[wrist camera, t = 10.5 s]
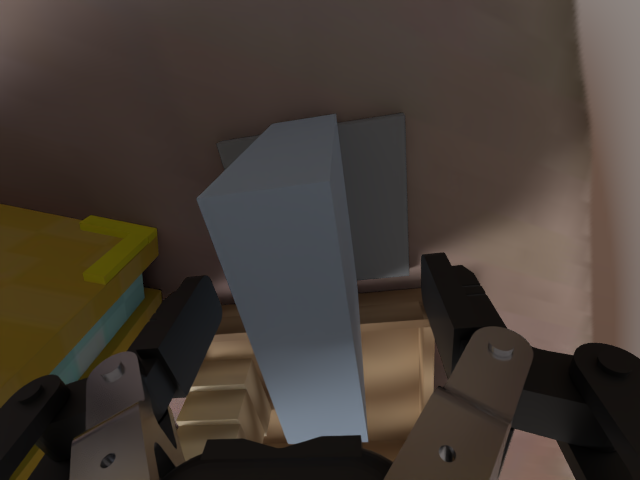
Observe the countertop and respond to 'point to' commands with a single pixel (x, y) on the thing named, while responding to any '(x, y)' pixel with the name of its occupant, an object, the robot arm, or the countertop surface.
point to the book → (68, 297)
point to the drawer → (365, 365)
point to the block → (294, 274)
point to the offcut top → (205, 436)
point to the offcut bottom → (235, 383)
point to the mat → (367, 191)
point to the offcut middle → (222, 411)
